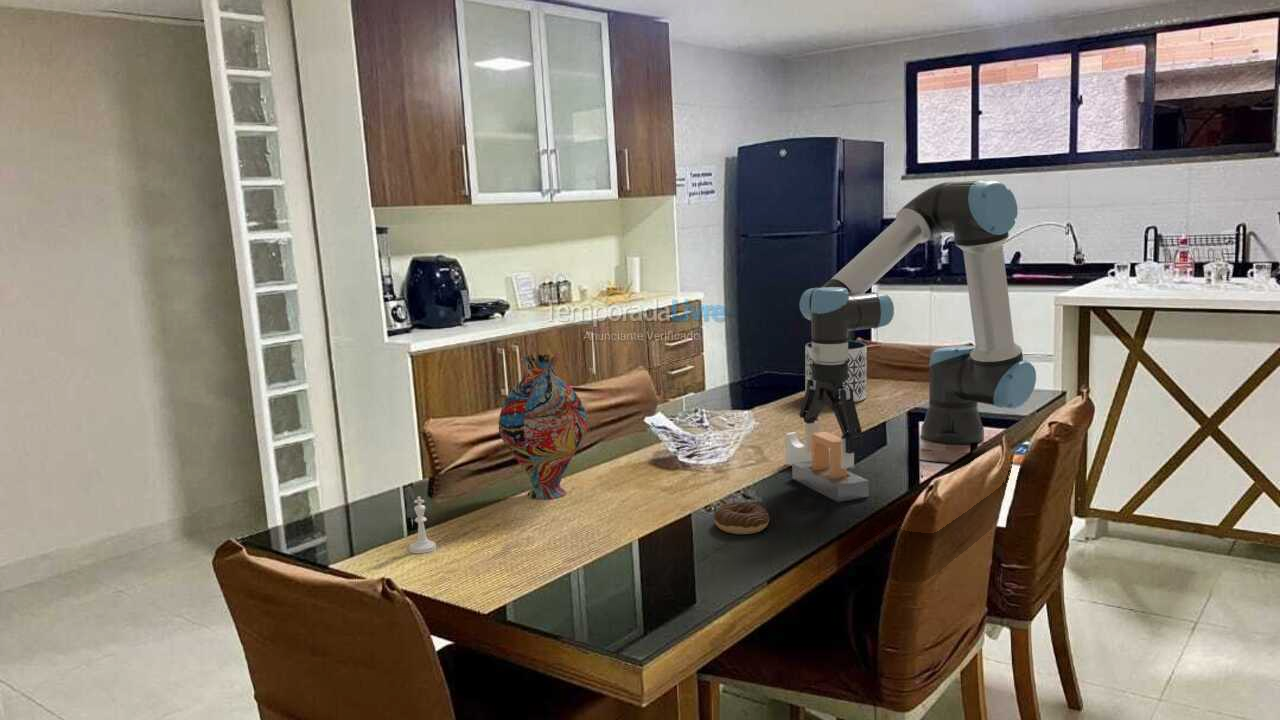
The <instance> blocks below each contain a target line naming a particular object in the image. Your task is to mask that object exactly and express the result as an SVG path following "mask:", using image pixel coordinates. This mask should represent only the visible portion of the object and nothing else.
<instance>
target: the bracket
mask: <svg viewBox="0 0 1280 720" xmlns="http://www.w3.org/2000/svg"><path fill="white" fill-rule="evenodd" d="M829 449H830V448H829ZM785 459H786V460H785V464H786V465H787V466H792V463H799V462H806V461H812V452H810V453H807V452H806V442H805V444H802V442H801V441H800V440H799V438H798V435H797V432H796V431H792V432H788V433H785Z"/></svg>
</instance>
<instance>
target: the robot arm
mask: <svg viewBox="0 0 1280 720" xmlns="http://www.w3.org/2000/svg"><path fill="white" fill-rule="evenodd" d="M1018 211H1019V210H1018V202H1017V199H1016V197H1015V195H1014V192H1012V190H1011V189H1010V188H1009V187H1008V186H1006V185H1005V184H1004V183H1002V182H999V181H995V180H994V181H993V180H992V181H989V180H984V179H983V180H971V181H970V180H968V181H966V180H965V181H946V182H942V183H938V184H935V185H933V186H931V187H929V188H928V189H926V190H924V191H922V192H921V193H919V194H918V195H916V196H915V197H914V198H913V199H911V200H910V201H909V202H908V203H906V204H905V205H904V206H903V207H901V209H900V210H898V211H897V213H896V214H895V220H894V221H893V222H892V223H891V224H889V226H887V227H886V228H885V229H884V230H883V231H882V232H880V233H879V235H877V236H876V237H875V238H874V239H873V240H872V241H871V242H870V243H869V244H868V245H867V246H865V247H864V248H863V249H862V250H861V251H860V252H859V253H857V254H856V255H855V256H854V258H853V259H851V260H850V261H849V262H848V263H847V264H846V265H845V266H844V267H842V268H841V269H840V270H839V271H838V272H837V273H836V274H835V275H834V276H833V277H832V278H831V279H830V280H828V281H827V282H826V283H824V285H823V286H821V287H814V288H809V289H807V290H805V291H804V292H803V293H802V295H801V297H800V299H799V310H800V312H801V314H802V316H803V317H804V318H805V319H807V320H809V321H811V324H810V325H811V342H812V348H811V351H812V360H813V361H815V362H813V363H812V364H811V377H812V379H809V380H808V381H807V390H806V394H805V393H804V398H803V401H802V404H801V408H800V411H799V413H798V414H799V417H800V418H801V419H803V422H804V423H805V443H806V452H807V453H810V452H812V433H819V422H818V421H819V419H818V418H819V416H820V414H821V412H822V410H823V409H824V407H825V406H827V407H829V408H830V410H831V411H832V412H833V413H834V416H835V418H836V420H837V424H838V425H839V428H840V430H841V433H842V435H841V437H840V438H841V468H842V469H844V468H847V469H849V468H851V469H852V468H854V467H855V451H856V437H862V435H863V431H862V428H861V427H862V426H861V424H860V419H859V415H858V412H857V409H856V404H855V402H854V400H853V390H852V389H844V388H843V382H844V381H846V380H847V378H848V364H847V363H846V362H845V361H846V360H848V340H849V332H852V331H860V330H861V331H862V330H869V329H874V330H875V329H878V328H882V327H885V326H887V325H889V324H890V323H891V322H892V320H893V319H894V315H895V305H894V302H893V300H892V298H891V297H890V296H889V295H888V294H886V293H884V292H874V291H872V292H868V293H866V292H867V291H868V290H869V289H871V287H872V286H873V285H875V283H877V282H878V281H879V280H881V278H882V277H883V276H885V274H886V273H888V272H889V271H890V270H891V269H892V268H893V267H894V266H895V265H896V264H898V262H899V261H900V260H902V259H903V258H904V257H905V256H906V255H907V254H908V253H909V252H911V250H913V249H914V247H915V246H917V245H918V244H924V243H926V242H927V241H928V240H929V239H931V238H932V237H933V236H936V235H938V234H942V233H953V237H954V244H955V246H956V247H957V248H959V249H960V250H962V253H963V259H964V260H963V261H964V266H965V274H966V275H965V276H966V282H967V283H966V284H967V291H968V297H969V299H968V300H969V306H970V307H969V308H970V315H971V320H972V321H971V322H972V327H973V336H974V337H973V338H974V343H975V345H959V346H957V345H956V346H955V345H954V346H947V347H940V348H935V349H933V350H932V351H931V353H930V358H929V364H928V365H929V366H928V367H929V368H928V370H929V372H928V374H929V375H928V376H929V382H928V383H929V384H928V388H929V389H928V390H929V392H928V396H929V399H928V408H927V411H926V414H925V417H924V420H923V423H922V425H921V431H920V433H921V435H920V436H921V438H924V439H925V440H927V441H931V442H935V443H941V444H942V443H943V444H950V445H965V444H974V443H978V442H981V441H983V440H984V439H985V429H984V426H983V423H982V422H983V421H982V419H981V415H980V413H979V408H978V403H980V404H984V405H989V406H993V407H994V406H995V407H996V408H998V409H999V408H1001V409H1002V408H1004V409H1012V410H1013V409H1016V408H1019V407H1021V406H1023V405H1024V404H1025V403H1026V402H1027V401H1028V400H1029V398H1030V397H1031V396H1032V393H1033V392H1034V389H1035V387H1036V383H1037V372H1036V371H1037V370H1036V368H1035V366H1034V365H1033V364H1032V363H1031V362H1029V361H1027V360H1024V357H1023V349H1022V347H1021V346H1019V345H1018V344H1017V343H1016V342H1015V339H1014V338H1015V337H1014V331H1013V323H1012V315H1011V305H1010V297H1009V296H1010V295H1009V288H1008V280H1007V271H1006V264H1005V255H1004V254H1005V253H1004V247H1003V245H1004V244H1005V242H1006V241H1007V240H1008V239H1009V237H1010V235H1009V232H1010V231H1011V229H1013V227H1014V226H1015V224H1016V220H1015V219H1017V217H1018ZM839 403H840V404H839Z"/></svg>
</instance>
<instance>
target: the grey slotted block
mask: <svg viewBox="0 0 1280 720" xmlns="http://www.w3.org/2000/svg"><path fill="white" fill-rule="evenodd" d="M791 468H792V469H791V470H792V471H791V472H792V473H791V474H792V475H791V476H792V477H791V479H793V480H794V481H796V482H797V483H800V484H801V485H804V486H806V487H807V488H810V489H811V490H814V491H815V492H817V493H819V494H820V495H821V494H822V495H823V496H826V497H827V498H829V499H830V500H833V501H834V502H837V503H840V502H845V501H851V500H858V499H863V498H869V494H870V493H869V492H870V491H869V490H870V481H869V480H868V479H867V478H864V477H862V476H860V475H857V474H855V473H853V472H851V471H849V470H847V477H843V478H837V479H831V478H829V468H827V469H821V470H815V471H814V470H812V461H806V462H799V463H792V467H791Z"/></svg>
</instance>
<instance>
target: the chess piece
mask: <svg viewBox="0 0 1280 720" xmlns="http://www.w3.org/2000/svg"><path fill="white" fill-rule="evenodd" d="M423 503H425V499H422V498H421V496H417V499H415V500H414V504H417V505H416V506H414V508H413V509H414V511H415V514H416V518H415V519H414V522H415V523H417V539H415V541H414V542H412V543H411V544H410V545H409V549H408V550H409V552H410V553H413V554H428V553H430V552H432V551H434V550H436V549H437V545H436V542H435V541H434V540H429V538H428V537H427V533H426V529H425V524H424V522H426V521H427V520H428V519H427V517H425V516H424V515H425V510H426V505H423Z"/></svg>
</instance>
